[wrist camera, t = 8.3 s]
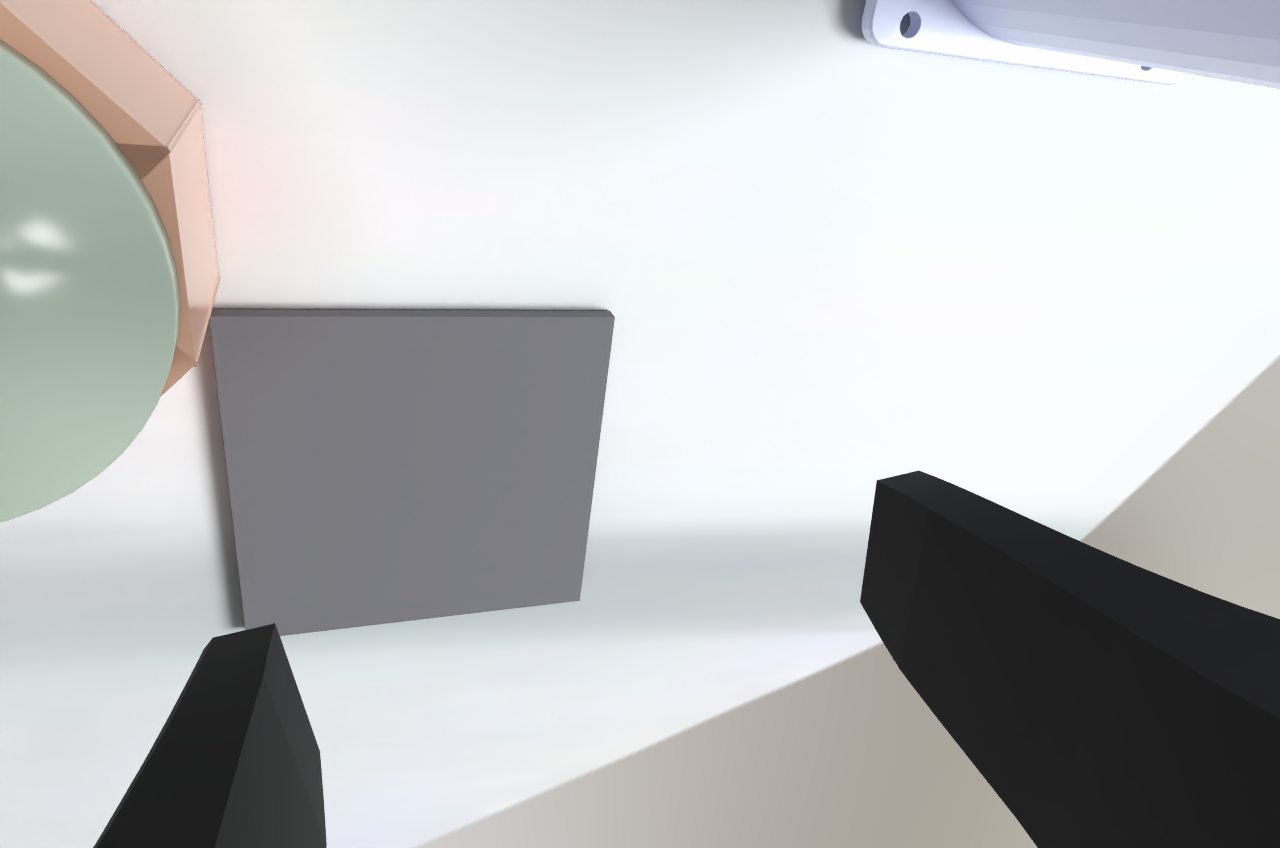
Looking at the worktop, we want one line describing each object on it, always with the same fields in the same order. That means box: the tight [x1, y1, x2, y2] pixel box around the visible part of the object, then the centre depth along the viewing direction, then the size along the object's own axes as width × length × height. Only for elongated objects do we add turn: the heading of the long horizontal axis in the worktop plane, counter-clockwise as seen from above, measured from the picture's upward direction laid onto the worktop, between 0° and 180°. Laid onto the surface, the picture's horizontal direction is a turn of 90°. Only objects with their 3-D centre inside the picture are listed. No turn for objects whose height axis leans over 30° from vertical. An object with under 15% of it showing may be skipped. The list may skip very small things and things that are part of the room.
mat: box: [209, 309, 615, 636], centre depth 20 cm, size 8×8×1 cm
